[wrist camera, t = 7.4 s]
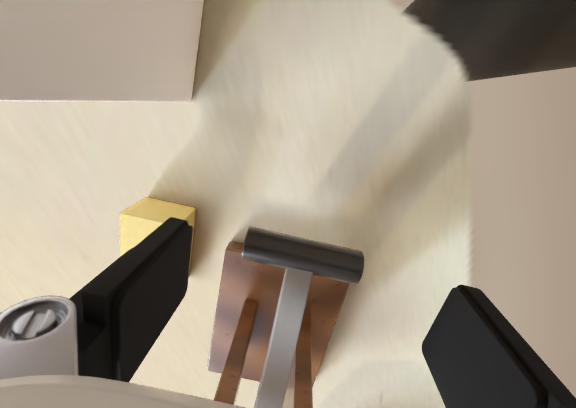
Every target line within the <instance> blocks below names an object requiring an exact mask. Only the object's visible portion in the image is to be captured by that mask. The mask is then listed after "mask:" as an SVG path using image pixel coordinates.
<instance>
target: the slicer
mask: <svg viewBox="0 0 576 408" xmlns="http://www.w3.org/2000/svg"><path fill="white" fill-rule="evenodd" d="M243 246H244V244H240V243H236V242H230V243H229V244H228V246H227V248H226V251H225V257H224V264H223V270H222V277H221V283H220V289H219V296H218V302H217V309H216V315H215V321H214V328H213V334H212V341H211V347H210V353H209V360H208V366H207V370H208V371H213V372H217V373H222V375H221V378H220V381H219V385H218V388H217V391H216V394H215V397H214V401H218V402H223V403H227V404H232V405H235V401H236V396H237V392H238V388H239V384H240V380H241V378H245V379H250V380H254V381H259V382H260V379H261V375H262V371H263V366H264V362H265V357H266V353H267V349H268V344H269V340H270V335H271V331H272V327H273V322H274V318H275V313H276V309H277V305H278V300H279V296H280V291H281V287H282V283H283V278H284V274H285V269H284V268H279V267H275V266H270V265H266V264H261V263H257V262H252V261H248V260H243V259H242V251H243ZM349 284H350V283H346V282H342V281H337V280H333V279H329V278H324V277H320V276H315V275H312V279H311V284H310V288H309V292H308V297H307V301H306V306H305V310H304V314H303V319H302V323H301V327H300V332H299V336H298V341H297V345H296V349H295V354H294V358H293V363H292V367H291V371H290V376H289V380H288V385H287V389H286V393H285V398H284V402H283V407H282V408H313V403H312V387H313V384H314V381H315V378H316V376H317V373H318V370H319V367H320V364H321V362H322V359H323V356H324V353H325V351H326V348H327V345H328V342H329V339H330V337H331V334H332V331H333V328H334V325H335V323H336V320H337V317H338V314H339V311H340V309H341V306H342V303H343V300H344V298H345V295H346V292H347V289H348V286H349Z"/></svg>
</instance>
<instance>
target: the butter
mask: <svg viewBox="0 0 576 408" xmlns="http://www.w3.org/2000/svg"><path fill="white" fill-rule="evenodd" d="M195 214H196V208H193V207H189V206H184V205H180V204H176V203H171V202H167V201H162V200H158V199H153V198H149V197H145V198H144V199H142V200H140V201H139V202H137V203H135V204H134V205H132V206H130V207H128V208H127V209H125V210H123V211H122V212H120V257H121V256H122V255H123V254H124V253H126V252H127V251H128V250H130V249H131V248H134V247H135V246H136V245H137V244H139V243H140V242H141V241H142V240H143V239H145V238H146V237H147V236H148V235H149V234H151V233H152V232H153V231H154V230H155V229H157V228H158V227H159V226H160V225H161V224H163V223H164V222H165V221H166V220H167V219H169V218H170V217H174V218H178V219H182V220H187V221H188V223H189V225H190V226H192V227H193V233H194V223H195ZM192 242H193V234H192ZM191 252H192V244H191ZM190 261H191V254H190ZM189 271H190V265H189ZM188 278H189V275H188Z"/></svg>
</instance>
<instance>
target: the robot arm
mask: <svg viewBox="0 0 576 408" xmlns="http://www.w3.org/2000/svg"><path fill="white" fill-rule="evenodd" d="M192 234H193V227H192V226H190V225H189V223H188V221H187V220H182V219H178V218H174V217H170V218H169V219H167V220H166V221H165V222H164V223H163V224H161V225H160V226H159V227H158V228H157V229H155V230H154V231H153V232H152V233H151V234H149V235H148V236H147V237H146V238H145V239H143V240H142V241H141V242H140V243H139V244H137V245H136V246H135V247H134V248H131V249H130V250H128V251H127V252H126V253H124V254H123V255H122V256H121V257H120V258H118V259H117V260H116V261H115V262H113V263H112V264H111V265H110V266H109V267H107V268H106V269H105V270H104V271H103V272H101V273H100V274H99V275H98V276H96V277H95V278H94V279H93V280H92V281H90V282H89V283H88V284H87V285H86V286H84V287H83V288H82V289H81V290H79V291H78V292H77V293H76V294H75V295H73V296H72V297H71V298H70V299H68V298H65V297H62V296H41V297H35V298H32V299H28V300H24V301H22V302H20V303H17V304H15V305H13V306H11V307H9V308H7V309H6V310H4V311H3V312H1V313H0V408H245V407H240V406H236V405H232V404H227V403H223V402H218V401H214V400H210V399H205V398H201V397H196V396H192V395H187V394H182V393H177V392H172V391H168V390H163V389H158V388H153V387H148V386H144V385H139V384H134V383H129V381H130V380H131V378H132V376H133V375H134V373H135V372H136V370H137V369H138V367H139V366H140V364H141V363H142V361H143V360H144V358H145V356H146V355H147V353H148V352H149V350H150V349H151V347H152V346H153V344H154V343H155V341H156V339H157V338H158V336H159V335H160V333H161V332H162V330H163V329H164V327H165V326H166V324H167V323H168V321H169V319H170V318H171V316H172V315H173V313H174V312H175V310H176V309H177V307H178V306H179V304H180V302H181V301H182V299H183V298H184V296H185V294H186V291H187V285H188V275H189V265H190V254H191V244H192ZM422 352H423V355H424V358H425V360H426V362H427V365H428V367H429V369H430V372H431V374H432V376H433V378H434V381H435V383H436V385H437V388H438V390H439V392H440V395H441V397H442V399H443V402H444V404H445V406H446V408H576V398H575V397H574V396H573V395H572V394H571V392H570V391H569V390H568V389H567V388H566V387H565V386H564V384H563V383H562V382H561V381H560V380H559V379H558V378H557V376H556V375H555V374H554V373H553V372H552V371H551V370H550V368H549V367H548V366H547V365H546V364H545V363H544V362H543V360H542V359H541V358H540V357H539V356H538V355H537V354H536V353H535V351H534V350H533V349H532V348H531V347H530V346H529V344H528V343H527V342H526V341H525V340H524V339H523V338H522V337H521V335H520V334H519V333H518V332H517V331H516V330H515V329H514V328H513V326H512V325H511V324H510V323H509V322H508V321H507V319H506V318H505V317H504V316H503V315H502V314H501V313H500V311H499V310H498V309H497V308H496V307H495V306H494V305H493V303H492V302H491V301H490V300H489V299H488V298H487V297H486V296H485V294H484V293H483V292H482V291H481V290H480V289H477V288H473V287H469V286H465V285H459V286H457V287H456V288H453V289H452V290H451V291H450V293H449V295H448V297H447V299H446V300H445V302H444V304H443V306H442V308H441V310H440V312H439V313H438V315H437V317H436V319H435V321H434V323H433V324H432V326H431V328H430V330H429V332H428V334H427V335H426V337H425V339H424V341H423V343H422Z"/></svg>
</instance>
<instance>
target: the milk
mask: <svg viewBox="0 0 576 408" xmlns="http://www.w3.org/2000/svg"><path fill="white" fill-rule="evenodd" d="M203 4H204V0H0V101H114V102H191V99H192V92H193V84H194V76H195V68H196V60H197V52H198V44H199V36H200V28H201V20H202V12H203Z"/></svg>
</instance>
